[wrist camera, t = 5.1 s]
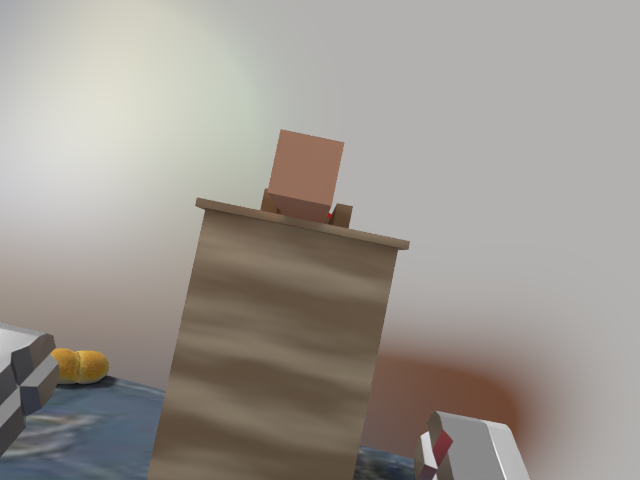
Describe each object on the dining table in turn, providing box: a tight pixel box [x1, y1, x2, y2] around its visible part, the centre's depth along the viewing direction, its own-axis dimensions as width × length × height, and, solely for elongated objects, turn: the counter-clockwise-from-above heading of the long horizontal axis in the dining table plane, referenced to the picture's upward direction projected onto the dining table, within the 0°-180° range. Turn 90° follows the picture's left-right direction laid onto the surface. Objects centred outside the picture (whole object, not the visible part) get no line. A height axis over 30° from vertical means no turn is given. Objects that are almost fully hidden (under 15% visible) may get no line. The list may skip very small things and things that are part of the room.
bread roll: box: [50, 349, 109, 384], centre depth 59 cm, size 8×9×4 cm
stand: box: [147, 189, 410, 480], centre depth 32 cm, size 17×13×28 cm
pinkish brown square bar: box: [267, 129, 344, 224], centre depth 27 cm, size 24×2×2 cm, turn 1°
